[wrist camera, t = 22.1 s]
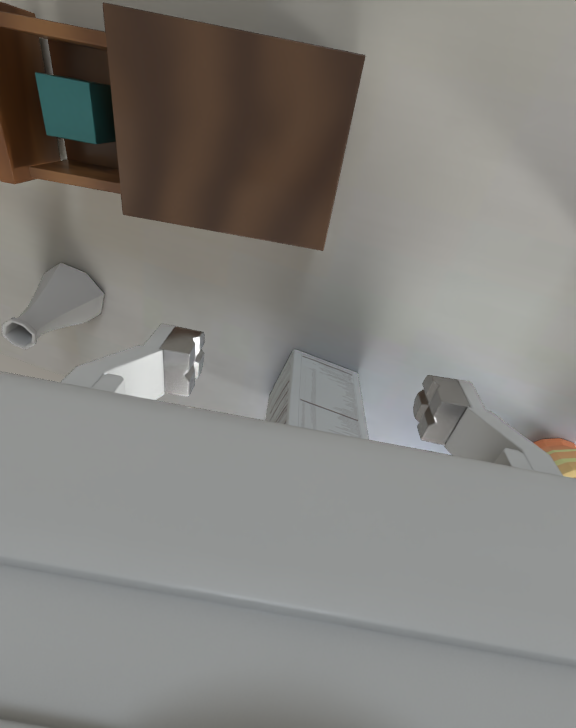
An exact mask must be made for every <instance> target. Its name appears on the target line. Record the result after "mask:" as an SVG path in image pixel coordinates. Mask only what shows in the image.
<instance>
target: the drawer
mask: <svg viewBox="0 0 576 728" xmlns="http://www.w3.org/2000/svg"><path fill="white" fill-rule="evenodd" d="M39 37H40V38H44V39H48V44H49V50H50V56H51V62H52V68H53V74H54V75H59V76H66V77H71V78H76V79H81V80H86V81H91V82H97V83H102V84H107V85H110V75H109V64H108V54H107V43H106V33H105V32H103V31H98V30H93V29H88V28H83V27H78V26H73V25H68V24H63V23H58V22H53V21H48V20H43V19H38V18H36V17H35V14H34V13H32V12H29V11H26V10H23V9H20V8H17V7H14V6H12V5H9V4H6V3H3V2H0V181H1V182H6V183H12V184H18V183H22V182H26V181H30V180H35V179H43V180H48V181H54V182H59V183H64V184H70V185H75V186H81V187H86V188H92V189H97V190H103V191H108V192H114V193H119V194H121V189H120V179H119V168H118V158H117V148H116V142H110V143H103V144H91V143H85V142H80V141H75V140H69V139H64V141H65V147H66V153H67V160H62V161H61V160H60V154H59V149H58V143H57V137H53V136H48V135H47V134H46V130H45V124H44V119H43V114H42V108H41V103H40V98H39V92H38V87H37V82H36V76H35V72H38V73H45V69H44V63H43V57H42V51H41V46H40V40H39Z"/></svg>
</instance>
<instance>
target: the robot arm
mask: <svg viewBox="0 0 576 728" xmlns="http://www.w3.org/2000/svg"><path fill="white" fill-rule="evenodd" d="M204 343H205V334H204V332H201V331H197V330H192V329H187V328H182V327H178V326H177V327H176V326H173V325H167V324H160V325H159V327H158V328H157V329H156V330H155V332H154V333H153V334H152V335H151V337H150V338H149V339H148V340H147V341H146V343H145V344H144V345H143V346H141V345H138V346H135V347H132V348H129V349H126V350H123V351H120V352H117V353H114V354H112V355H109V356H106V357H103V358H100V359H97V360H94V361H91V362H88V363H85V364H82V365H79V366H76V367H75V368H74V369H73V370H72V371H71V372H70V373H69V374H68V375H67V376H66V377H65V378H64V379H63V380H62V381H61V382H55V381H50V380H44V379H39V378H34V377H29V376H23V375H18V374H13V373H7V372H2V371H0V728H576V478H571V477H566V476H563V475H562V473H561V472H560V470H559V468H558V467H557V465H556V464H555V462H554V461H553V459H552V457H551V456H550V455H549V454H548V453H546V452H545V451H543V450H542V449H541V448H539V447H538V446H537V445H535V444H534V443H533V442H531V441H530V440H529V439H527V438H526V437H525V436H523V435H522V434H521V433H519V432H518V431H517V430H515V429H514V428H513V427H511V426H510V425H509V424H507V423H506V422H505V421H503V420H502V419H500V418H499V417H498V416H496V415H495V414H494V413H492V412H491V411H487V410H486V408H485V406H484V405H483V403H482V401H481V399H480V397H479V395H478V393H477V391H476V389H475V387H474V386H473V384H472V383H471V382H470V381H464V380H457V379H450V378H444V377H438V376H432V375H427V377H426V378H425V379H424V381H423V383H422V384H423V387H424V390H422V391H421V392H419V393H418V394H417V396H416V398H415V401H414V407H413V412H414V417H415V419H416V420H418V421H419V424H418V426H417V428H418V431H419V435H420V438H421V440H422V441H427V442H432V443H437V444H441V445H445V446H444V447H445V448H446V449H447V450H448V451H449V452H450V453H451V455H448V454H443V453H437V452H432V451H426V450H421V449H416V448H410V447H405V446H399V445H394V444H389V443H383V442H378V441H373V440H367V439H362V438H356V437H351V436H346V435H340V434H335V433H330V432H324V431H319V430H313V429H308V428H303V427H297V426H292V425H287V424H281V423H276V422H270V421H265V420H260V419H254V418H249V417H244V416H238V415H233V414H228V413H222V412H217V411H211V410H206V409H201V408H195V407H190V406H185V405H179V404H174V403H168V402H163V401H158V400H156V399H158V398H159V397H161V396H163V395H164V394H165V393H168V394H174V395H180V396H187V397H189V396H190V394H191V392H192V390H193V388H194V386H195V379H196V378H198V377H199V376H200V373H201V371H202V367H203V362H204V352H203V350H202V349H201V348H202V347H203V345H204Z"/></svg>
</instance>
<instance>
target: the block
mask: <svg viewBox="0 0 576 728" xmlns="http://www.w3.org/2000/svg"><path fill="white" fill-rule="evenodd" d="M35 76H36V82H37V87H38V92H39V98H40V103H41V108H42V114H43V119H44V124H45V130H46V134H47V135H48V136H53V137H59V138H64V139H69V140H75V141H80V142H85V143H91V144H103V143H110V142H116V137H115V127H114V116H113V106H112V95H111V85H107V84H102V83H97V82H91V81H86V80H81V79H76V78H71V77H66V76H59V75H52V74H45V73H38V72H35Z"/></svg>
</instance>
